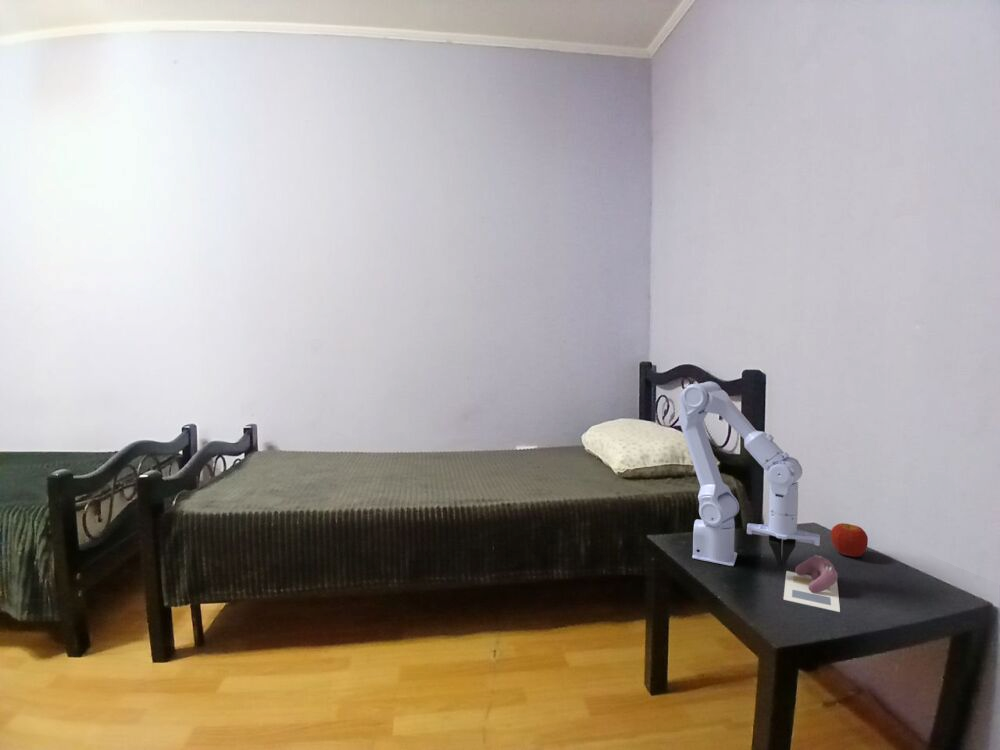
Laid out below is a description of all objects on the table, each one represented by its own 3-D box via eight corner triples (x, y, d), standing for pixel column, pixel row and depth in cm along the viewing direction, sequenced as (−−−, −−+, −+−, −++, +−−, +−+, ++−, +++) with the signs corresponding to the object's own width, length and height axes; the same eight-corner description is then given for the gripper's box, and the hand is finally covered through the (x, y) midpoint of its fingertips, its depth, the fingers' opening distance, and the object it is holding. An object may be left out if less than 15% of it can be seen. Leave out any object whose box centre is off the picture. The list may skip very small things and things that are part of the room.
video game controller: (828, 601, 111) (846, 575, 110) (807, 591, 112) (825, 564, 110) (811, 580, 120) (827, 555, 119) (792, 570, 121) (808, 545, 120)
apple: (837, 559, 128) (838, 528, 127) (824, 546, 136) (826, 517, 135) (873, 562, 126) (874, 531, 126) (858, 549, 134) (859, 519, 133)
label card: (783, 601, 109) (783, 599, 109) (786, 572, 122) (786, 570, 122) (839, 614, 104) (840, 611, 104) (836, 582, 117) (836, 580, 117)
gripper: (746, 511, 118) (744, 568, 119) (820, 522, 111) (818, 583, 112) (749, 502, 124) (747, 557, 125) (820, 512, 117) (818, 570, 118)
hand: (781, 569), depth 119 cm, fingers closed
